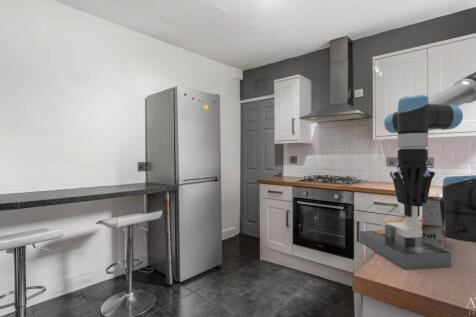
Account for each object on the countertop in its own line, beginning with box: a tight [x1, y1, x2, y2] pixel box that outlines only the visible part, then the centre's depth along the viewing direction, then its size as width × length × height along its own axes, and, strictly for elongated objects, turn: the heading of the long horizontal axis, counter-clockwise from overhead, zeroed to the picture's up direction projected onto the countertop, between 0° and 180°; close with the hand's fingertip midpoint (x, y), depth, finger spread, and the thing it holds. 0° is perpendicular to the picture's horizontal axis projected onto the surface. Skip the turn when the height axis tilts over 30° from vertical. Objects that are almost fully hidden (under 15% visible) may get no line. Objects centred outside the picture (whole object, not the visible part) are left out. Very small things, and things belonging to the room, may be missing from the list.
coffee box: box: [421, 195, 446, 249], centre depth 92 cm, size 9×6×16 cm
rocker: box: [380, 219, 422, 238], centre depth 83 cm, size 5×12×2 cm, turn 5°
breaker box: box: [359, 225, 452, 270], centre depth 83 cm, size 14×22×9 cm, turn 5°
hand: (411, 227), depth 78 cm, fingers closed
